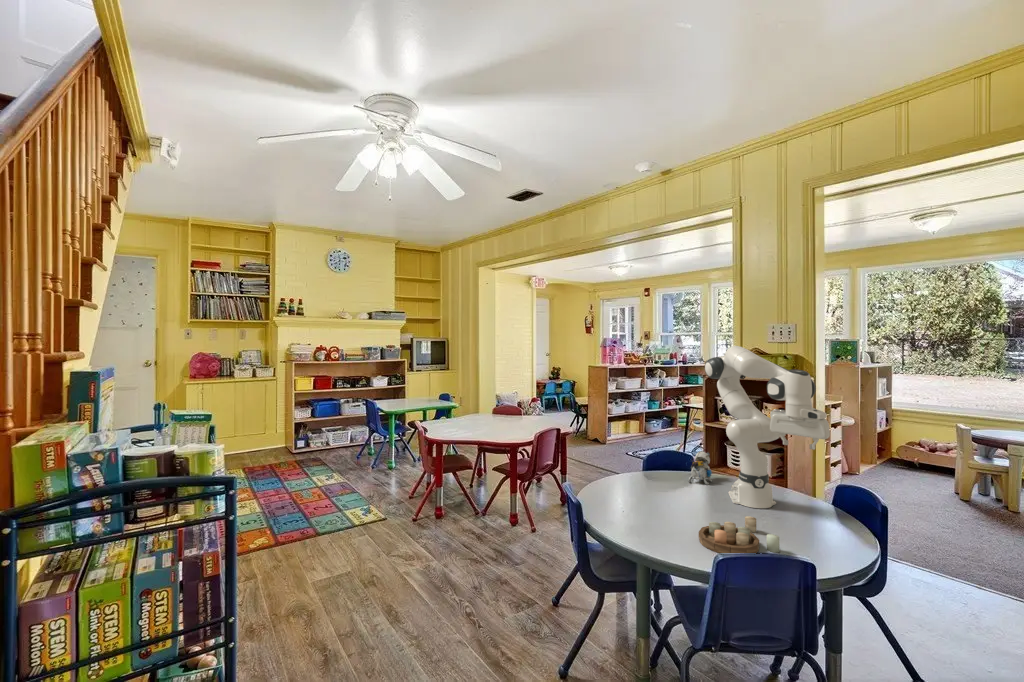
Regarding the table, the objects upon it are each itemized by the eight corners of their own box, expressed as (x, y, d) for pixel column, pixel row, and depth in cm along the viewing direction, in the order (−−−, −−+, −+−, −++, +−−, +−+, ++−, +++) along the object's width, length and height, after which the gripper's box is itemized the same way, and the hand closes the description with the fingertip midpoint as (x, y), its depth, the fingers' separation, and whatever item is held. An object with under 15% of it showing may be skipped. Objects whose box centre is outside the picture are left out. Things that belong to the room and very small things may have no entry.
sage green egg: (764, 547, 168) (764, 533, 168) (776, 548, 167) (776, 534, 167) (769, 552, 164) (769, 538, 164) (781, 553, 163) (781, 539, 163)
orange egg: (712, 545, 168) (712, 531, 168) (717, 542, 170) (717, 528, 170) (723, 549, 165) (723, 535, 165) (728, 545, 167) (728, 532, 167)
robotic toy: (718, 479, 250) (718, 451, 250) (706, 487, 237) (706, 457, 238) (695, 474, 259) (694, 448, 259) (682, 481, 246) (681, 453, 246)
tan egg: (743, 528, 185) (743, 516, 185) (753, 529, 184) (753, 516, 184) (747, 532, 181) (747, 520, 181) (758, 533, 180) (758, 520, 180)
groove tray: (692, 531, 182) (692, 517, 182) (745, 533, 180) (745, 519, 180) (708, 555, 162) (708, 539, 162) (768, 557, 160) (768, 541, 160)
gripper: (767, 409, 186) (767, 443, 186) (825, 415, 170) (825, 453, 170) (773, 407, 190) (773, 441, 190) (831, 413, 174) (831, 450, 174)
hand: (798, 446), depth 180 cm, fingers open, 8 cm apart
